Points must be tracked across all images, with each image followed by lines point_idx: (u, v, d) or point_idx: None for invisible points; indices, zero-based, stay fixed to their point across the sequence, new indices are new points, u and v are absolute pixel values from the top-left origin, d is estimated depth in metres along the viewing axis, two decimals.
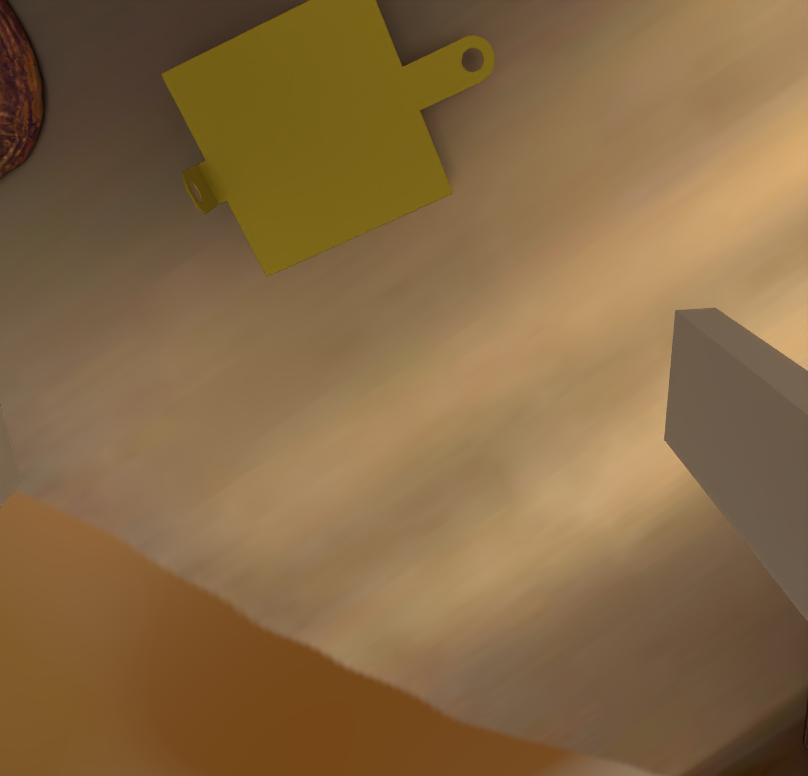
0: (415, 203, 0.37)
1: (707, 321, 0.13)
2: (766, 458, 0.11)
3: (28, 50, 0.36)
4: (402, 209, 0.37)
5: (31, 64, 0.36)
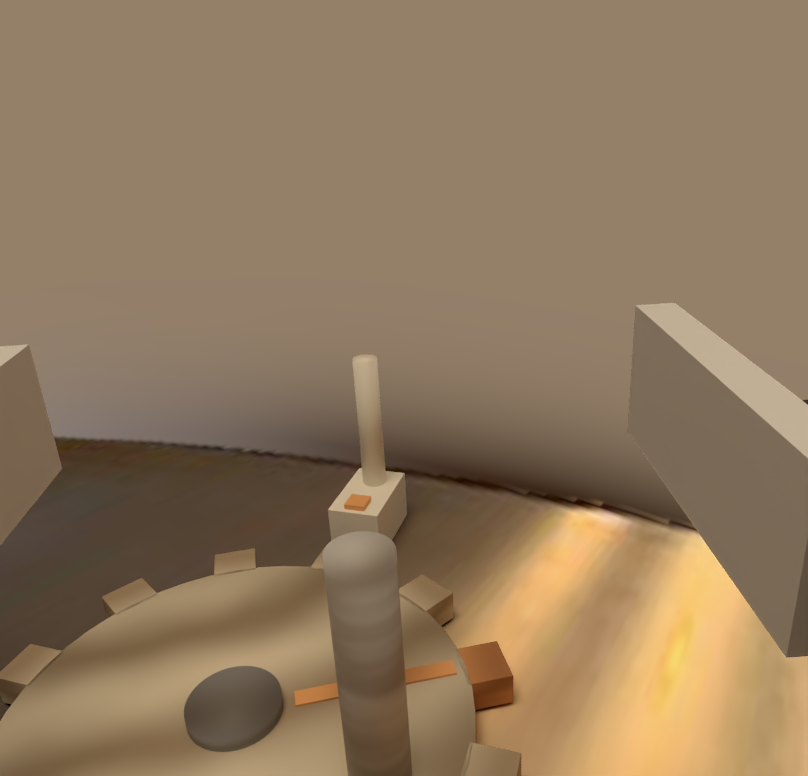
0: None
1: (664, 315, 0.14)
2: (712, 446, 0.11)
3: None
4: None
5: None
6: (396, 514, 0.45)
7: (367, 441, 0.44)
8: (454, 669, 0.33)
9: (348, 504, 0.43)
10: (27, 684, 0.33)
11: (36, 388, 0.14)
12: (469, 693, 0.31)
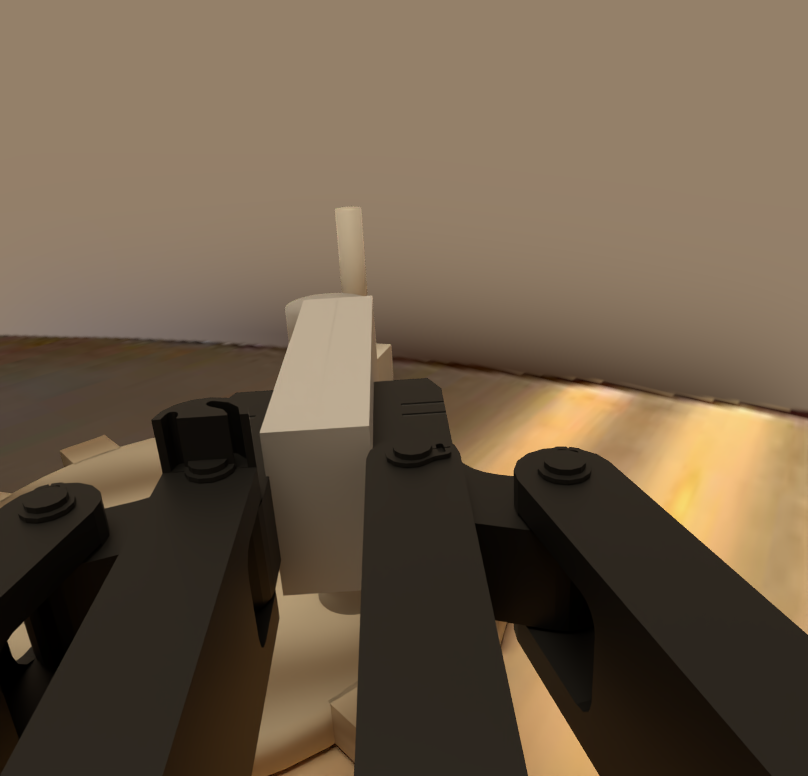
0: None
1: (350, 306, 0.15)
2: None
3: None
4: None
5: None
6: None
7: None
8: None
9: None
10: None
11: None
12: None
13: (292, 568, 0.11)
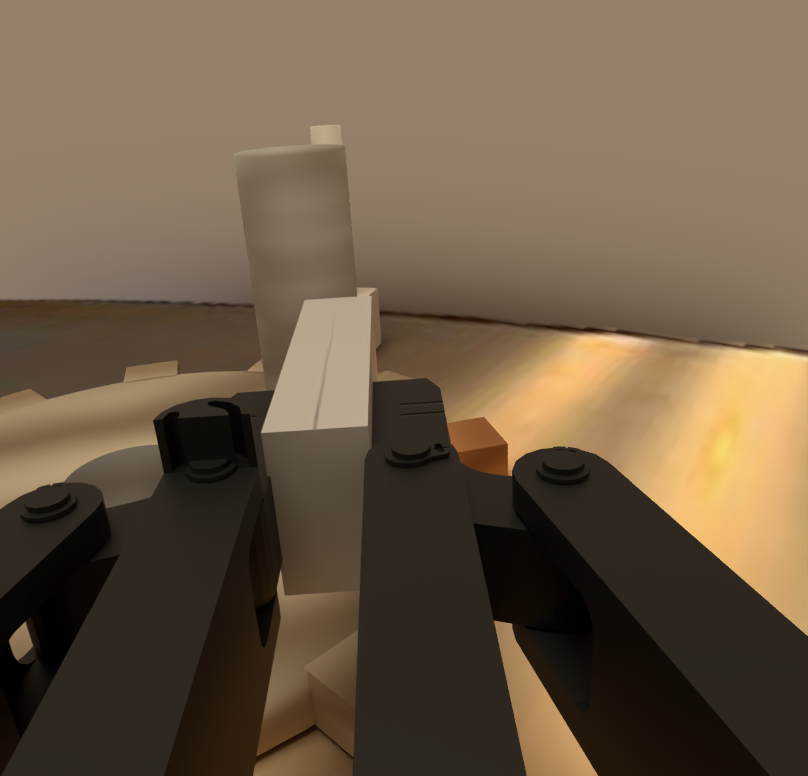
0: None
1: (348, 306, 0.15)
2: None
3: None
4: None
5: None
6: None
7: None
8: None
9: None
10: None
11: None
12: None
13: (293, 568, 0.11)
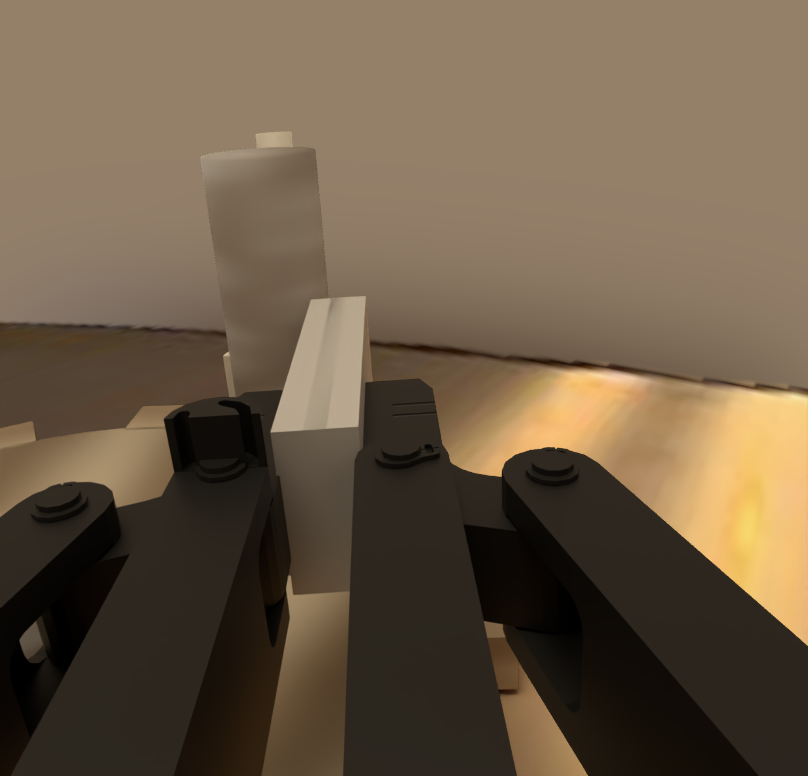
0: None
1: (342, 307, 0.15)
2: None
3: None
4: None
5: None
6: None
7: None
8: None
9: None
10: None
11: None
12: None
13: (302, 568, 0.11)
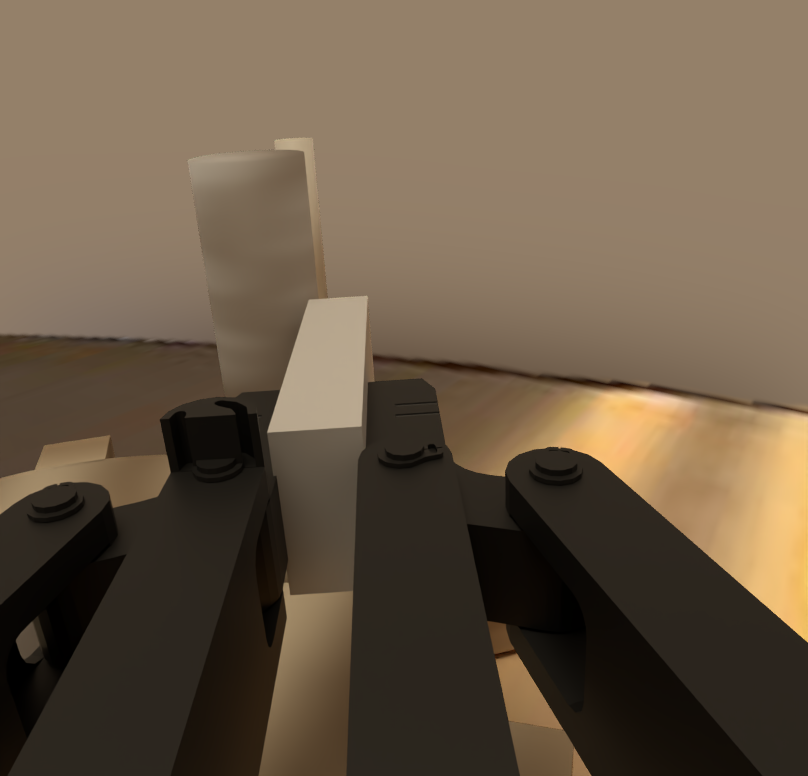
0: None
1: (345, 307, 0.15)
2: None
3: None
4: None
5: None
6: None
7: None
8: None
9: None
10: None
11: None
12: None
13: (299, 568, 0.11)
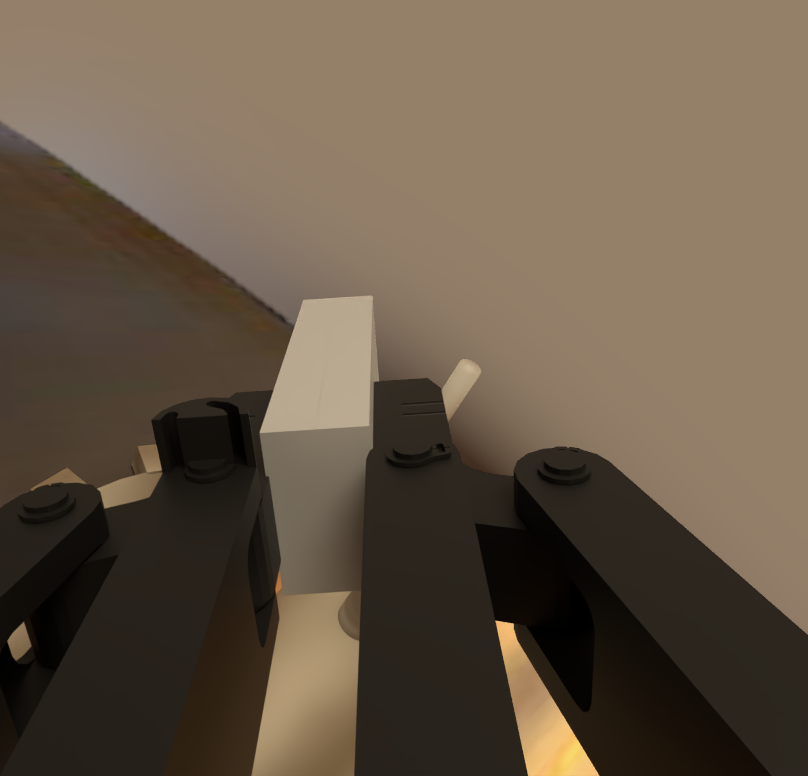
0: None
1: (350, 306, 0.15)
2: None
3: None
4: None
5: None
6: None
7: None
8: None
9: None
10: None
11: None
12: None
13: (292, 568, 0.11)
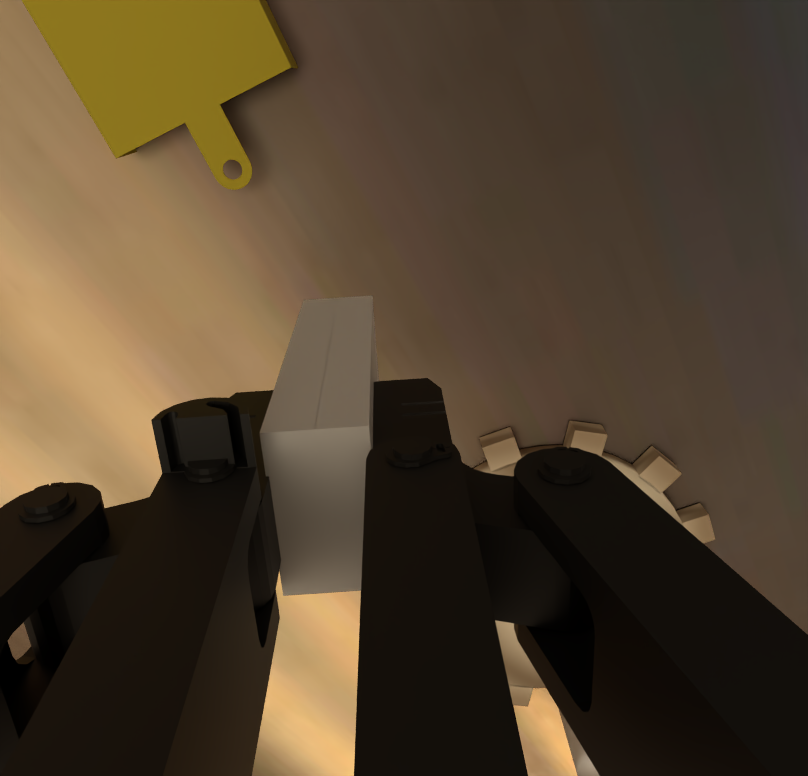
0: (100, 121, 0.39)
1: (350, 306, 0.15)
2: None
3: None
4: (92, 107, 0.38)
5: None
6: None
7: None
8: None
9: None
10: (491, 471, 0.49)
11: None
12: None
13: (292, 568, 0.11)
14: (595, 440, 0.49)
